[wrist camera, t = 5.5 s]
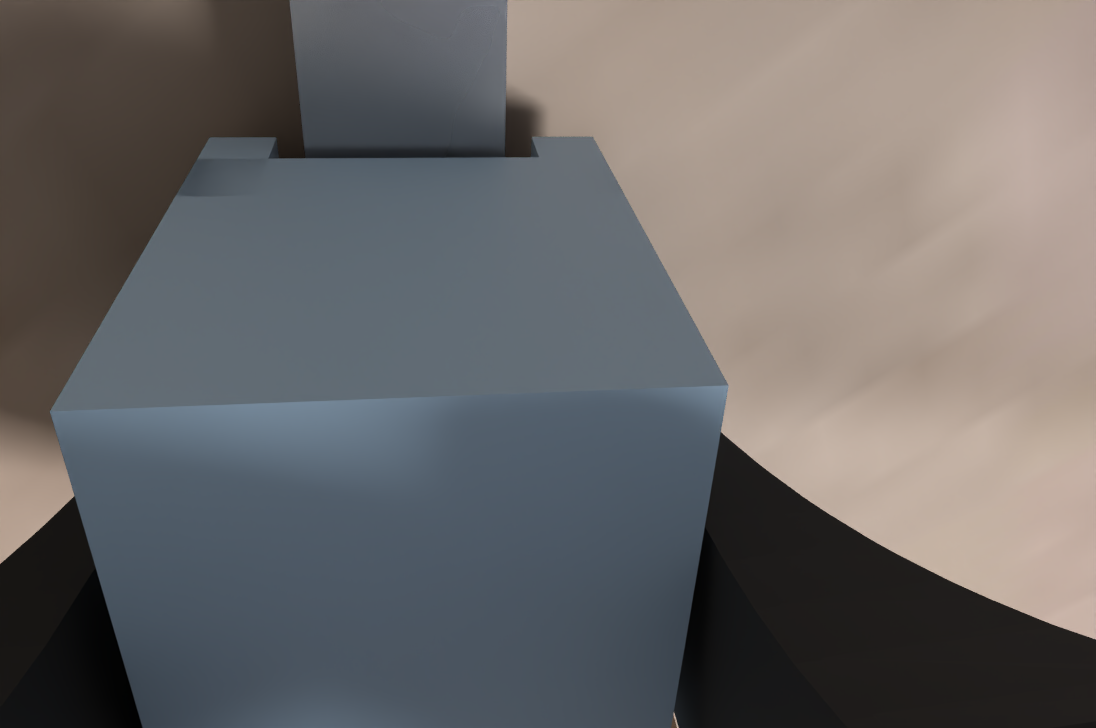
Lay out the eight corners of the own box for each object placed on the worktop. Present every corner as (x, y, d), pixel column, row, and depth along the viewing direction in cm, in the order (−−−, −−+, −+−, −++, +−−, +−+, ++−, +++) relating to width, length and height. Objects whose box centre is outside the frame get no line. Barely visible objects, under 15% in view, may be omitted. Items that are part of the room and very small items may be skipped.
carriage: (592, 136, 12) (728, 385, 7) (569, 495, 15) (650, 848, 10) (210, 137, 11) (48, 412, 6) (267, 511, 14) (192, 896, 9)
